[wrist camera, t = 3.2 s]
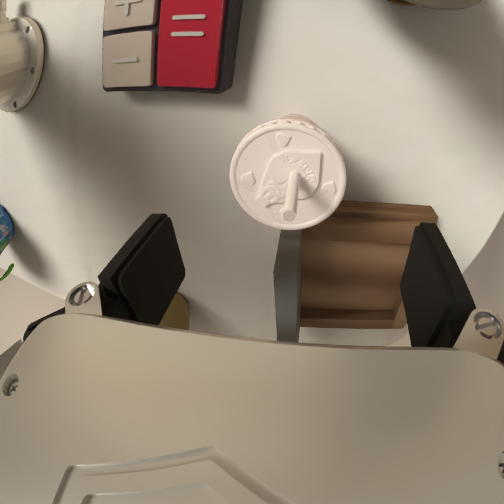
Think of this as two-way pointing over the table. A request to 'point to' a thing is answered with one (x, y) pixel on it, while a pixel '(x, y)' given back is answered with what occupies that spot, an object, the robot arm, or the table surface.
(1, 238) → the snack cup
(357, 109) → the table surface
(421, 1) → the apothecary jar
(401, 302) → the display stand
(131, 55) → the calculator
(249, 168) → the smoothie
